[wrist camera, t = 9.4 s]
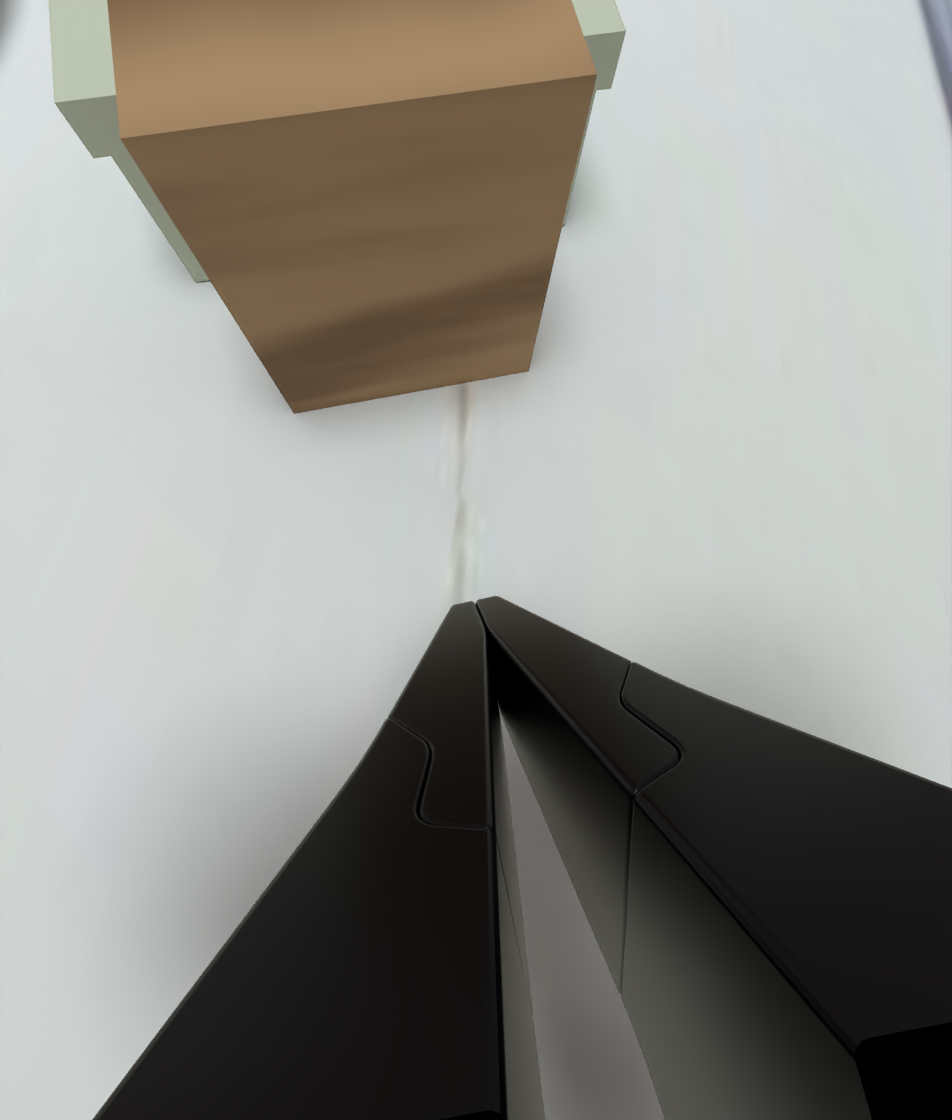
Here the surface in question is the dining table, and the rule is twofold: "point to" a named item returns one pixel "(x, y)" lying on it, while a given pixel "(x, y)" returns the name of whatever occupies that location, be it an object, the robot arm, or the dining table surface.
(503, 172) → the rectangular block
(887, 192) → the dining table surface
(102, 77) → the green miniature desk
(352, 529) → the dining table surface
